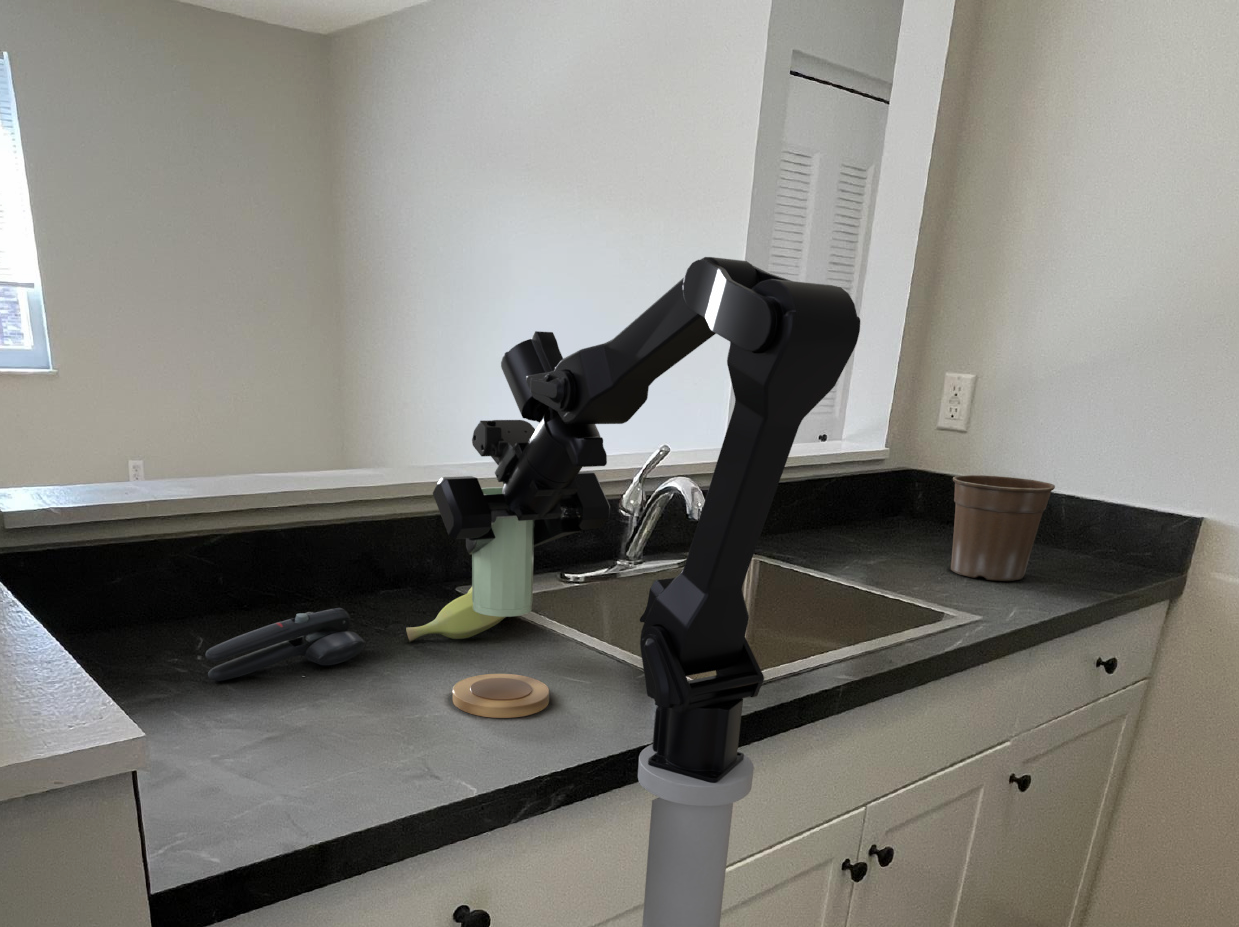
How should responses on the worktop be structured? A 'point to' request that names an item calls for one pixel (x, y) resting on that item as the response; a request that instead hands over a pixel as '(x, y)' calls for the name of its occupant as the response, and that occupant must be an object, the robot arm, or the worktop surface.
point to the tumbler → (504, 568)
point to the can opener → (289, 644)
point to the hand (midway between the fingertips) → (497, 548)
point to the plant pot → (996, 525)
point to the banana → (456, 621)
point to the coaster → (500, 695)
